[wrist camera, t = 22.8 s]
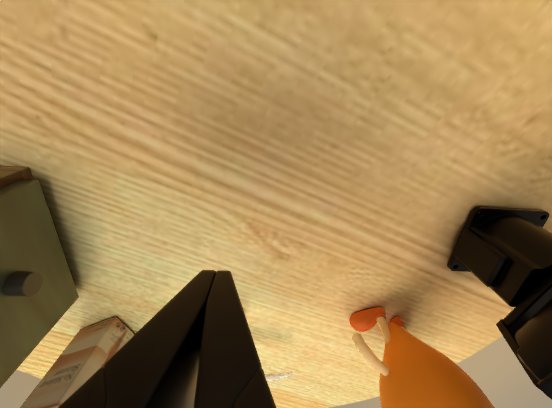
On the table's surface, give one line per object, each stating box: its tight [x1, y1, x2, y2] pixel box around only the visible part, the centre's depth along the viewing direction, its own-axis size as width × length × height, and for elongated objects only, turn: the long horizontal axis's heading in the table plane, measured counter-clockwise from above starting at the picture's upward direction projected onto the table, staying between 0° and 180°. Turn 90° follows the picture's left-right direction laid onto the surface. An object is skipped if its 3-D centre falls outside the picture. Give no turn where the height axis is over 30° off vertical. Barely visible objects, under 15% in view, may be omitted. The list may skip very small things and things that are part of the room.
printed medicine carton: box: [20, 317, 134, 408], centre depth 23 cm, size 5×4×10 cm
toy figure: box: [350, 307, 494, 408], centre depth 20 cm, size 12×8×15 cm
